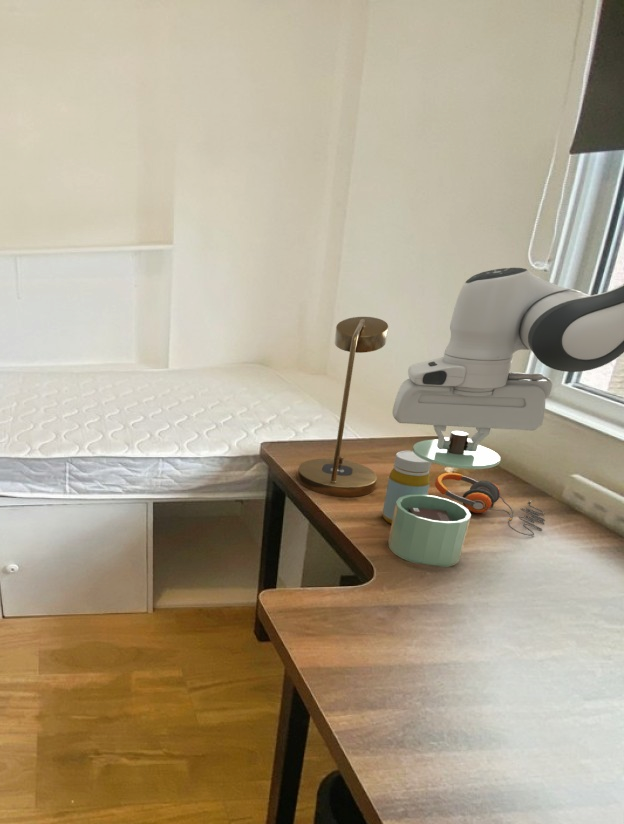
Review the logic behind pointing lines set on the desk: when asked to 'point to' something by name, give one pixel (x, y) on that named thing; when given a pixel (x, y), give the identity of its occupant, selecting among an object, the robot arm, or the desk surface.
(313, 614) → the desk surface
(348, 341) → the lamp
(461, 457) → the lid
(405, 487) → the bottle
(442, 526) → the canister
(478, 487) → the headphones
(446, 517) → the box
